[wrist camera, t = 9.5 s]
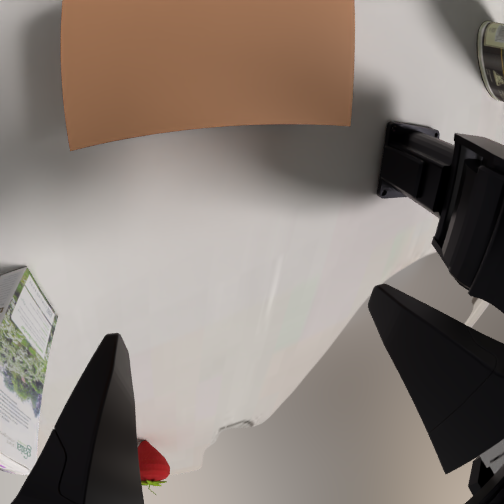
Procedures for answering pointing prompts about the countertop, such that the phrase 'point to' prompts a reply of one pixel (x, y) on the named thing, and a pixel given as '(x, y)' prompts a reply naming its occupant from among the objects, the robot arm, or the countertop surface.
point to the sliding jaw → (203, 65)
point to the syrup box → (22, 367)
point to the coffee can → (492, 57)
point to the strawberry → (151, 465)
